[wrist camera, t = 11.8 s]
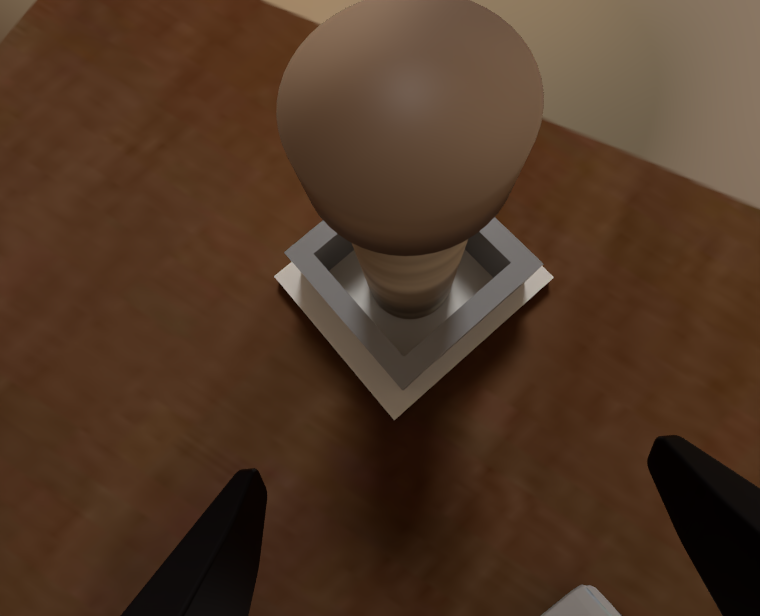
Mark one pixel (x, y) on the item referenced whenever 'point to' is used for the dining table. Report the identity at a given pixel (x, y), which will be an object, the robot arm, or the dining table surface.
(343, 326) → the plate
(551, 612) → the stereo radio cassette player
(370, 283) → the maple knob
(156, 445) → the dining table surface
